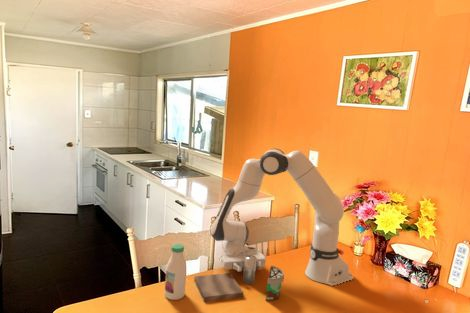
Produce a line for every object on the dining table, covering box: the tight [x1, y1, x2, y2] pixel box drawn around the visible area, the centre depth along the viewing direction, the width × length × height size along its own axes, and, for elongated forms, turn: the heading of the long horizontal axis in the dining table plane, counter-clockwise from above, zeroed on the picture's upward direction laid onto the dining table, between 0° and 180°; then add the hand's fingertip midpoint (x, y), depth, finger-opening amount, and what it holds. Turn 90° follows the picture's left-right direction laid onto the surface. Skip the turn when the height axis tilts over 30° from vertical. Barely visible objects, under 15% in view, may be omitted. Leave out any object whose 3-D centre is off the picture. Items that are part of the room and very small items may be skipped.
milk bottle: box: [164, 243, 187, 301], centre depth 128 cm, size 8×8×20 cm
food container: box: [265, 265, 285, 302], centre depth 135 cm, size 12×6×10 cm, turn 168°
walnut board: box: [193, 272, 244, 303], centre depth 137 cm, size 16×16×2 cm
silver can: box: [242, 255, 257, 285], centre depth 144 cm, size 5×5×11 cm
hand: (250, 269), depth 144 cm, fingers open, 8 cm apart
